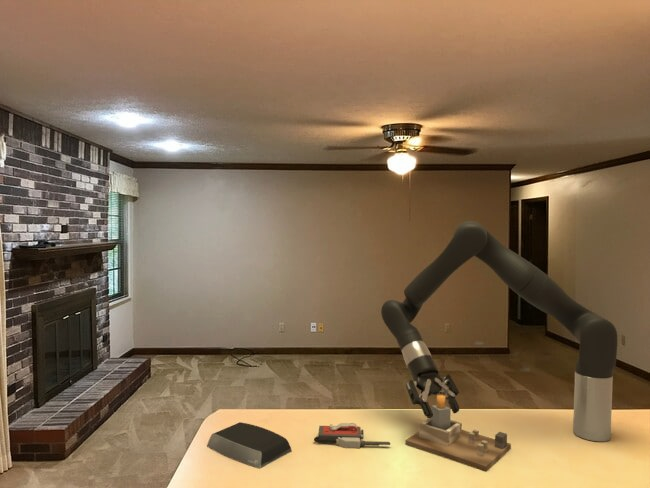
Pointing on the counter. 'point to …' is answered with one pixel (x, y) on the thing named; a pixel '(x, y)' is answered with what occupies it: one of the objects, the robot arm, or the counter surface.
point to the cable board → (460, 444)
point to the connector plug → (441, 414)
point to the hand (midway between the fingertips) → (443, 414)
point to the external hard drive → (249, 444)
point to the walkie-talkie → (344, 436)
